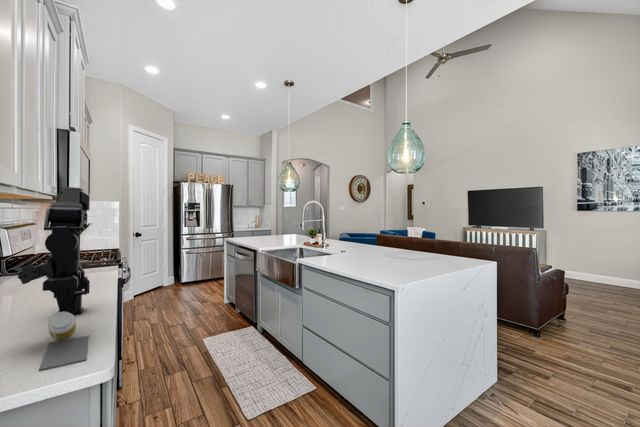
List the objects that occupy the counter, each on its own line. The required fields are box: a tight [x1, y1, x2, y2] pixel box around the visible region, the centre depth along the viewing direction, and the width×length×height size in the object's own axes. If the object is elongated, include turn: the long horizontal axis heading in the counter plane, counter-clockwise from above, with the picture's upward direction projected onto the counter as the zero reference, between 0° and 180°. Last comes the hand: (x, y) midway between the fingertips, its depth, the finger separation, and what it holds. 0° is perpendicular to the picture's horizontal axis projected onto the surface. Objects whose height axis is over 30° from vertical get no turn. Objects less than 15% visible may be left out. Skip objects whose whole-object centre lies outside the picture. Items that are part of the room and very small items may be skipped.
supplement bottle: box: [47, 312, 77, 341], centre depth 75 cm, size 5×5×10 cm
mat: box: [38, 335, 90, 372], centre depth 70 cm, size 16×8×1 cm, turn 38°
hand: (62, 311), depth 75 cm, fingers closed
